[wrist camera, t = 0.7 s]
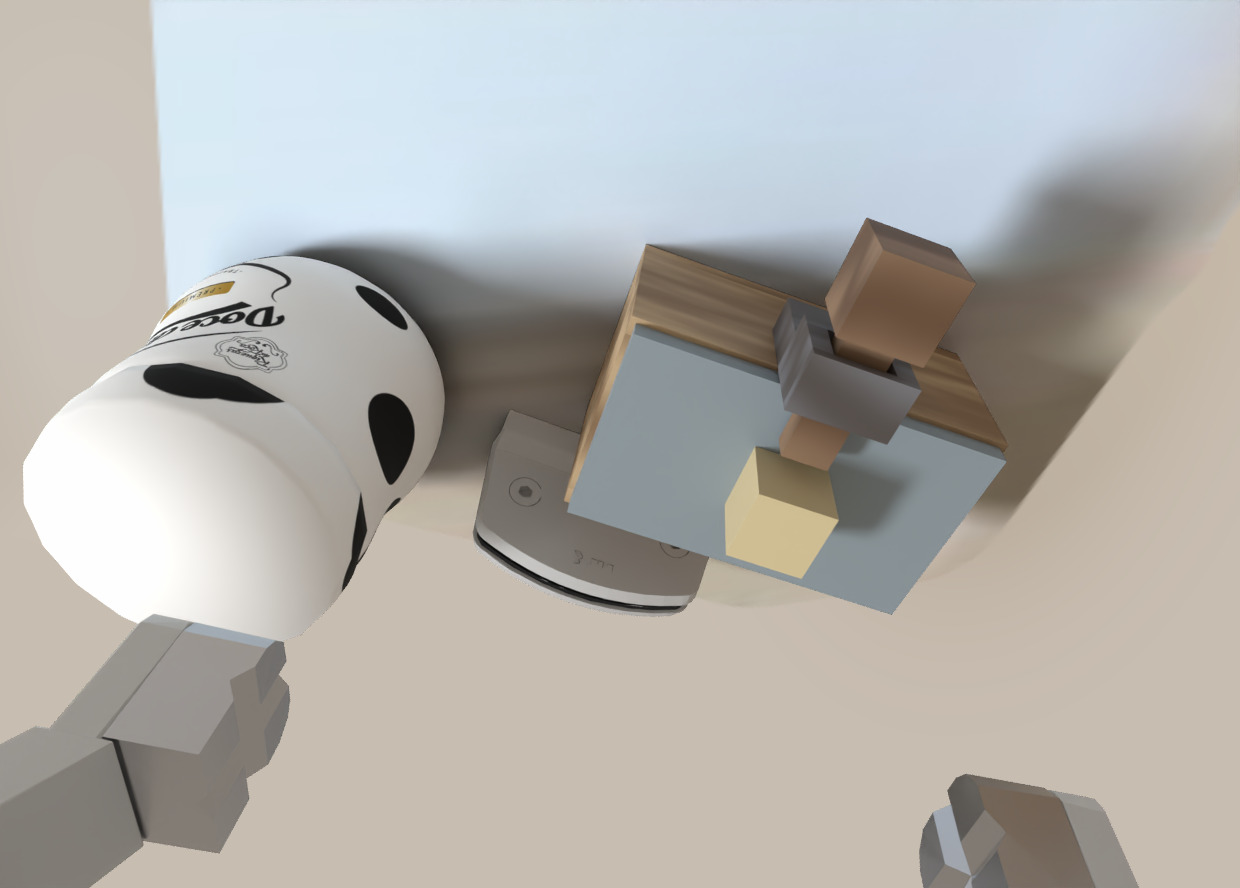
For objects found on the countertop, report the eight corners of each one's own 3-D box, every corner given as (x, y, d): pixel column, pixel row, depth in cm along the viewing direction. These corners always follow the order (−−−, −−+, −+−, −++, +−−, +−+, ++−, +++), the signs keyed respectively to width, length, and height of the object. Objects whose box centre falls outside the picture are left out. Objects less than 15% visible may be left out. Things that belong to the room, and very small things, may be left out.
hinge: (734, 489, 56) (715, 619, 50) (708, 520, 59) (687, 645, 53) (504, 407, 54) (456, 532, 48) (493, 445, 57) (447, 566, 51)
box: (663, 195, 45) (646, 295, 33) (985, 311, 47) (1077, 444, 35) (586, 409, 53) (551, 550, 41) (862, 500, 55) (904, 660, 43)
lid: (637, 314, 39) (626, 374, 34) (993, 437, 41) (1034, 511, 36) (572, 488, 45) (555, 561, 40) (884, 587, 47) (906, 669, 42)
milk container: (236, 183, 47) (14, 308, 32) (501, 327, 50) (413, 500, 35) (176, 399, 56) (-19, 575, 41) (404, 508, 59) (301, 707, 44)
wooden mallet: (866, 217, 34) (883, 249, 31) (950, 248, 35) (976, 283, 31) (762, 420, 40) (766, 465, 37) (834, 444, 41) (846, 491, 37)
